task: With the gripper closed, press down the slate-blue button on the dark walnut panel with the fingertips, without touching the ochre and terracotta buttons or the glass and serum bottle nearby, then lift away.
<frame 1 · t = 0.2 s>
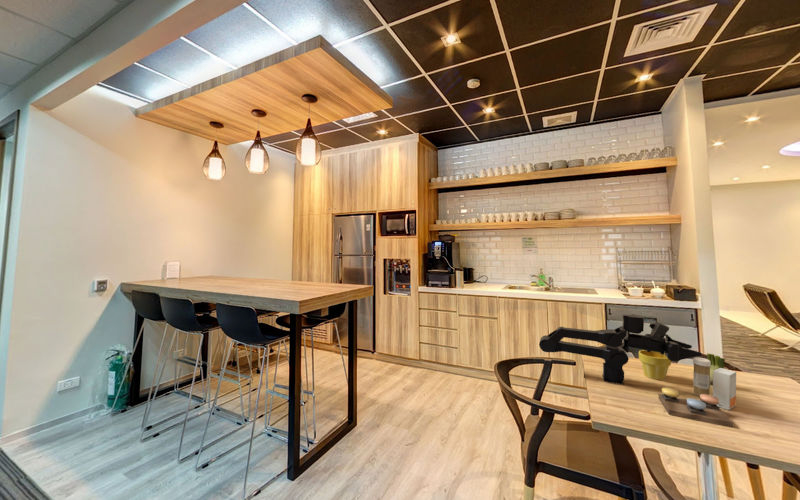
hand: (696, 350, 112), 17 cm above the table, tool horizontal, fingers open, 9 cm apart
slate-blue button: (696, 405, 98), point 3 cm above the table, slide at 0.0 cm
skincare box: (724, 406, 104), on the table
sprinkles bottle: (701, 396, 111), on the table
ochre button: (670, 393, 105), point 4 cm above the table, slide at 0.0 cm
terracotta button: (709, 400, 101), point 4 cm above the table, slide at 0.0 cm
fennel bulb: (714, 385, 120), on the table
plant pot: (654, 377, 127), on the table
board: (692, 411, 100), on the table
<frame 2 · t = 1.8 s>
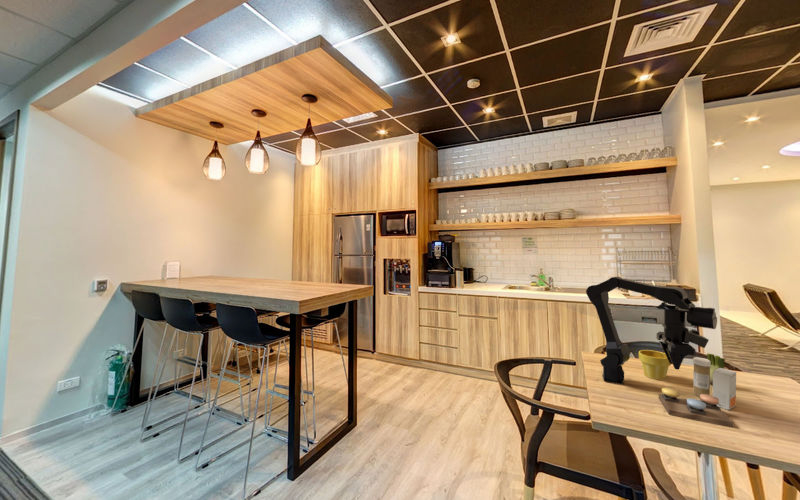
hand: (674, 366, 108), 12 cm above the table, tool pointing down, fingers open, 5 cm apart
nothing on the table moved.
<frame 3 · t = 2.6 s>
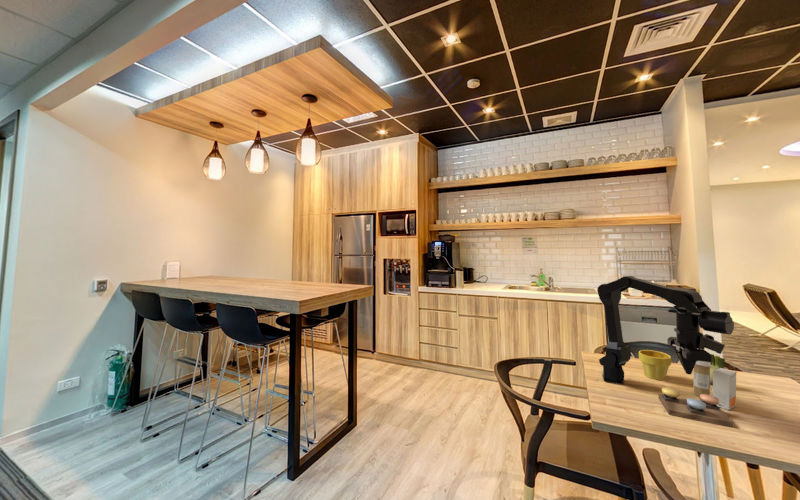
hand: (688, 374, 102), 12 cm above the table, tool pointing down, fingers closed
nothing on the table moved.
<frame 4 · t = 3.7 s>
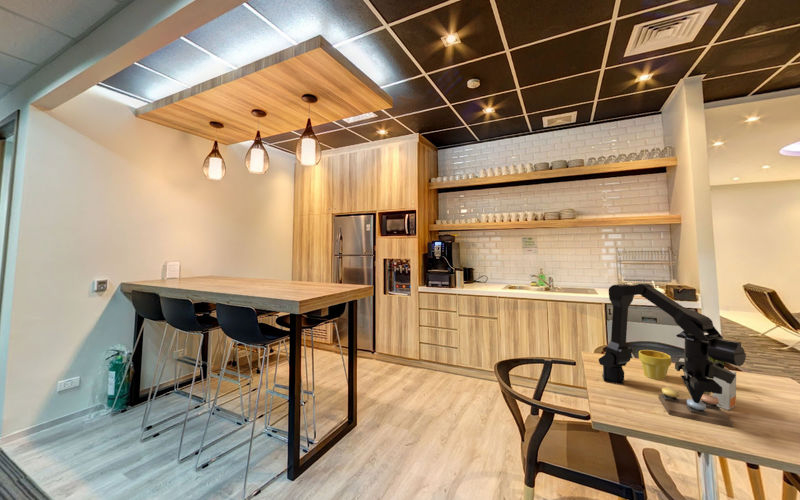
hand: (696, 402, 98), 4 cm above the table, tool pointing down, fingers closed, pressing on slate-blue button
slate-blue button: (696, 405, 98), point 3 cm above the table, slide at 0.2 cm, touching gripper
everything else where it was.
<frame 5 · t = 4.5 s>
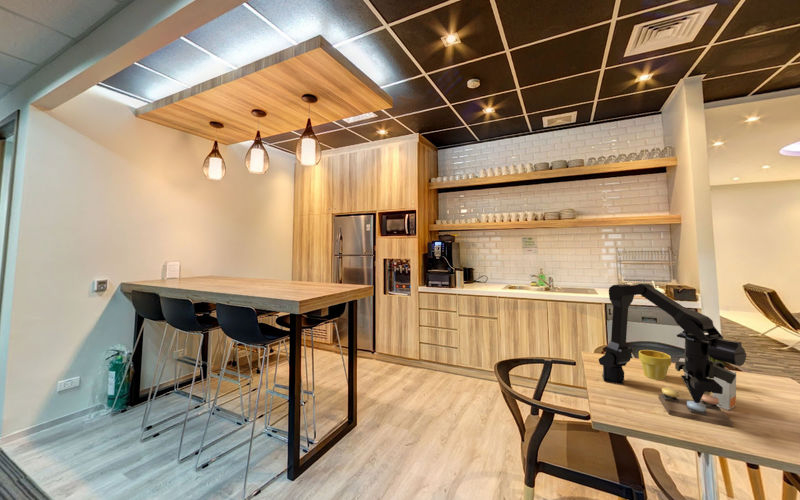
hand: (696, 402, 98), 4 cm above the table, tool pointing down, fingers closed
slate-blue button: (696, 407, 98), point 3 cm above the table, slide at 0.8 cm
everything else where it was.
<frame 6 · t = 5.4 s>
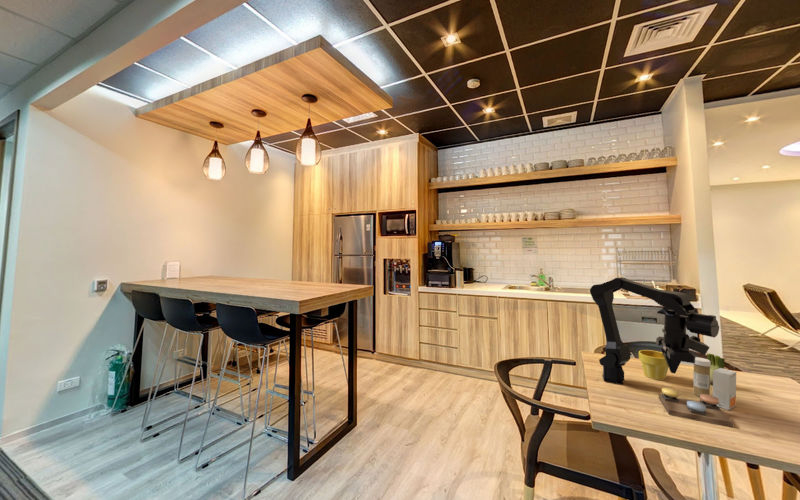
hand: (672, 372, 106), 11 cm above the table, tool pointing down, fingers closed
nothing on the table moved.
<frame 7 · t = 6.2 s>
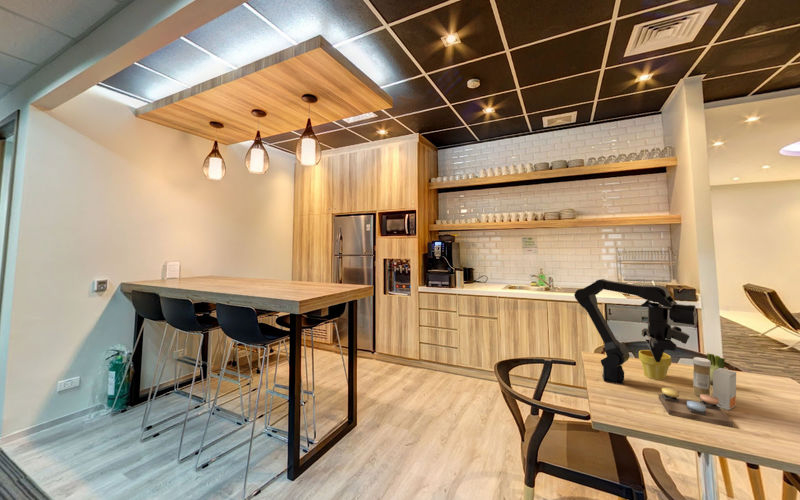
hand: (657, 361, 112), 12 cm above the table, tool pointing down, fingers closed
nothing on the table moved.
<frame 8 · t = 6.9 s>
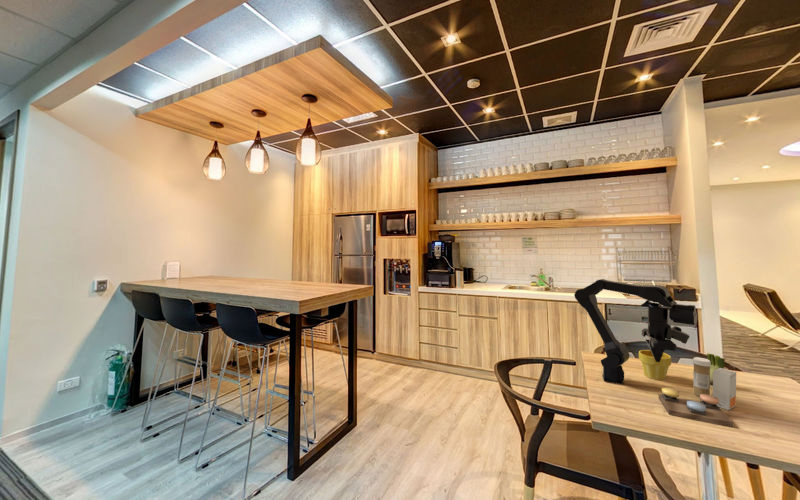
hand: (657, 361, 112), 12 cm above the table, tool pointing down, fingers closed
nothing on the table moved.
at the end: slate-blue button slide at 0.8 cm; ochre button slide at 0.0 cm; terracotta button slide at 0.0 cm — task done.
